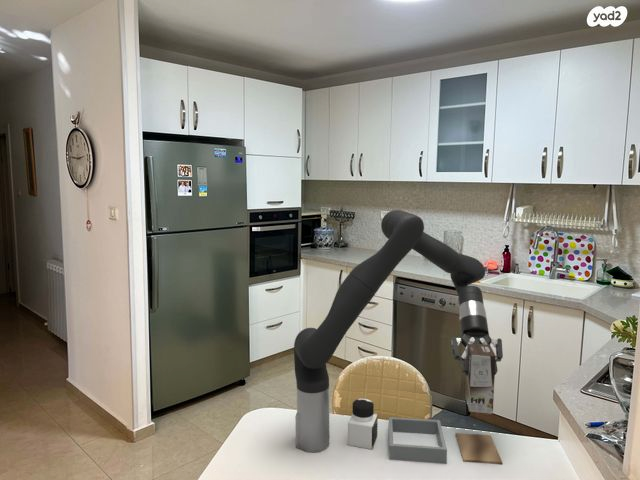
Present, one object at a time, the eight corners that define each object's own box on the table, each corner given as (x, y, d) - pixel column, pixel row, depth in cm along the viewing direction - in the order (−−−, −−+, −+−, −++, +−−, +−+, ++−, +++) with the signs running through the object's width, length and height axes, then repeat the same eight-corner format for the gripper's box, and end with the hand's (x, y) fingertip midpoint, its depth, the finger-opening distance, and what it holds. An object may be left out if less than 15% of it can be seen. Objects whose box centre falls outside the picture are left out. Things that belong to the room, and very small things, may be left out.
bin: (389, 459, 122) (389, 445, 122) (388, 429, 137) (388, 417, 136) (446, 463, 120) (447, 449, 120) (439, 432, 135) (440, 420, 134)
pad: (463, 461, 121) (463, 459, 121) (455, 434, 134) (455, 432, 134) (502, 464, 120) (502, 462, 119) (490, 437, 132) (490, 435, 132)
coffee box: (493, 414, 120) (496, 356, 118) (468, 412, 121) (470, 354, 119) (488, 398, 129) (490, 343, 127) (464, 396, 130) (466, 342, 128)
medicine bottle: (372, 450, 126) (372, 409, 125) (347, 445, 129) (347, 405, 127) (377, 436, 133) (377, 397, 132) (354, 432, 135) (354, 394, 134)
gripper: (449, 312, 132) (454, 367, 122) (501, 314, 130) (510, 370, 120) (446, 324, 138) (451, 378, 128) (496, 326, 136) (504, 380, 126)
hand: (480, 374), depth 124 cm, fingers closed on coffee box, 6 cm apart
